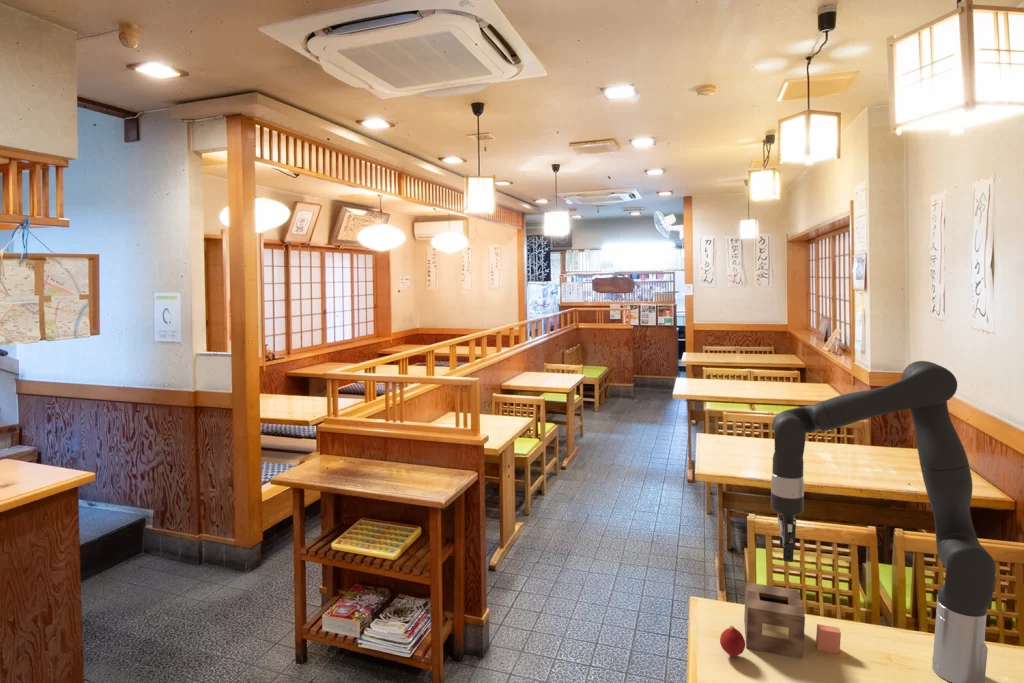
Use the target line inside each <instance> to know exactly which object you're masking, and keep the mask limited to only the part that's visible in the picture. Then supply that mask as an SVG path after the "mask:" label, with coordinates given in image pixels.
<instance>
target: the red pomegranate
mask: <svg viewBox="0 0 1024 683" xmlns="http://www.w3.org/2000/svg"><path fill="white" fill-rule="evenodd" d="M719 644H720V646H721V649H722V650H723V651H724V652H725V653H726V654H727V655H728V656H729V657H731V658H733V657H738V656H740V655H741V654H743V652H744V650H745V648H746V639H745V638H744V636H743V634H742V632H741V631H739V630H738V629H737V628H736V627H735V626H734V625H729V627H728V628H725V630H723V631H722V633H721V634H720V638H719Z"/></svg>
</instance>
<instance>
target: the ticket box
mask: <svg viewBox="0 0 1024 683" xmlns="http://www.w3.org/2000/svg"><path fill="white" fill-rule="evenodd" d="M743 617H744V619H743V622H744V635H745V648H746V649H750V650H754V651H760V652H765V653H771V654H776V655H781V656H786V657H791V658H796V659H801V660H802V659H803V658H804V646H805V645H804V642H805V624H806V622H805V621H806V616H805V612H804V606H803V603H802V599H801V595H800V592H799V590H798V589H792V588H786V587H779V586H773V585H766V584H761V583H753V582H748V581H746V582H745V592H744V616H743Z"/></svg>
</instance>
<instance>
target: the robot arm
mask: <svg viewBox="0 0 1024 683" xmlns="http://www.w3.org/2000/svg"><path fill="white" fill-rule="evenodd" d="M900 377H901V379H899V380H898V381H896V382H893V383H891V384H887V385H884V386H880V387H877V388H873V389H868V390H867V389H866V390H861V391H860V390H859V391H854V392H849V393H845V394H841V395H838V396H835V397H831V398H828V399H824V400H822V401H819V402H816V403H814V404H810V405H805V406H798V407H794V408H790V409H786V410H783V411H781V412H779V413H777V414H776V415H775V416H774V417H773V420H772V424H771V425H772V430H773V437H774V438H773V439H774V452H773V456H772V472H771V473H772V474H771V475H772V476H771V480H770V482H771V483H770V508H771V509H772V510H773V511H774V512H776V513H778V514H777V526H778V530H779V545H780V547H782V550H783V552H782V558H783V561H784V562H787V563H792V562H794V549H796V547H797V545H796V537H797V532H796V530H797V529H796V528H797V519H796V516H797V515H800V514H802V513H803V512H804V511H805V510H804V509H805V508H804V506H805V481H804V453H805V446H806V433H811V432H815V431H820V432H827V431H831V430H832V431H833V430H835V429H839V428H842V427H845V426H848V425H850V424H855V423H857V422H860V421H864V420H867V419H871V418H875V417H877V416H882V415H885V414H886V415H887V414H889V413H894V412H898V411H905V410H910V413H911V417H912V421H913V426H914V433H915V442H916V447H917V448H916V450H917V454H918V459H919V460H918V461H919V465H920V470H921V475H922V478H923V483H924V486H925V490H926V494H927V498H928V501H929V505H930V508H931V511H932V514H933V522H934V528H935V529H934V530H935V542H936V544H935V545H936V551H937V556H938V558H939V560H940V562H941V563H942V565H943V566H944V568H945V576H944V583H943V585H942V586H941V587H939V588H938V592H937V600H936V614H935V624H934V625H935V626H934V635H933V636H934V638H933V651H932V662H931V663H932V664H931V665H932V666H931V667H932V670H933V671H934V673H935V674H937V676H938V677H940V678H942V679H943V680H945V681H947V682H950V683H951V682H952V683H986V672H987V670H986V669H987V662H988V661H987V660H988V650H989V649H988V646H987V644H985V638H986V637H985V636H986V626H987V616H988V614H987V613H988V608H989V606H990V604H991V603H992V601H993V595H994V589H995V582H996V571H997V570H996V563H995V560H994V558H993V557H992V555H991V554H990V553H989V552H988V551H987V549H985V547H984V546H983V545H982V544H981V543H980V541H979V539H978V536H977V534H976V530H975V527H974V525H973V521H972V517H971V504H972V503H971V501H972V496H973V477H972V473H971V468H970V464H969V463H970V462H969V460H968V455H967V453H966V452H967V451H966V450H965V448H964V445H963V443H962V441H961V439H960V436H959V435H958V433H957V430H956V428H955V426H954V425H953V422H952V420H951V416H950V413H949V407H948V402H947V401H949V400H950V399H952V398H953V397H954V396H955V395H956V393H957V390H958V380H957V379H956V376H955V375H954V374H953V373H952V371H950V370H949V369H947V368H945V367H944V366H942V365H939V364H937V363H934V362H932V361H927V360H917V361H915V362H912V363H910V364H908V365H907V366H906V367H905V369H904V370H903V372H902V374H901V376H900ZM790 541H791V542H790Z"/></svg>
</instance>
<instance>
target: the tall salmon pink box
mask: <svg viewBox="0 0 1024 683" xmlns="http://www.w3.org/2000/svg"><path fill="white" fill-rule="evenodd" d="M815 636H816V637H815V645H816V648H817V650H818V651H823V652H824V651H825V652H827V653H836V654H840V652H841V639H842V638H841V637H842V632H841V629H840V627H837V626H830V625H825V624H820V623H816V635H815Z"/></svg>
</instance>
